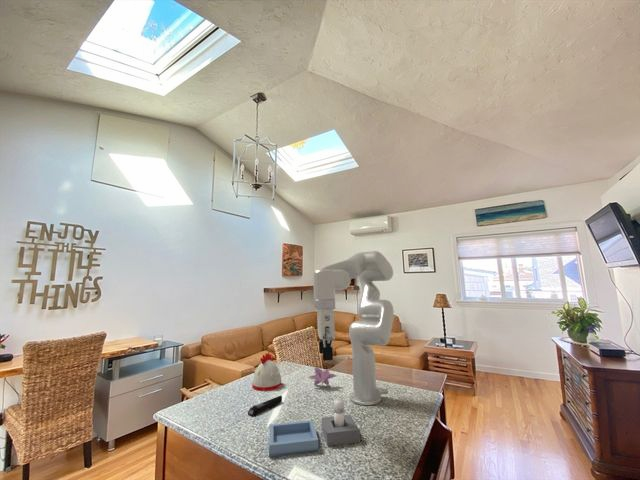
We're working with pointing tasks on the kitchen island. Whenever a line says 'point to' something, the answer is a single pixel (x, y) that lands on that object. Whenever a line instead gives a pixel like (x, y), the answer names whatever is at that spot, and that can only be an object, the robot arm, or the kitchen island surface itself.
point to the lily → (322, 376)
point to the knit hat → (266, 375)
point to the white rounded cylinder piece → (339, 413)
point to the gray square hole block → (340, 431)
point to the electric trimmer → (264, 406)
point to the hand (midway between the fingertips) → (325, 356)
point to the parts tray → (292, 438)
